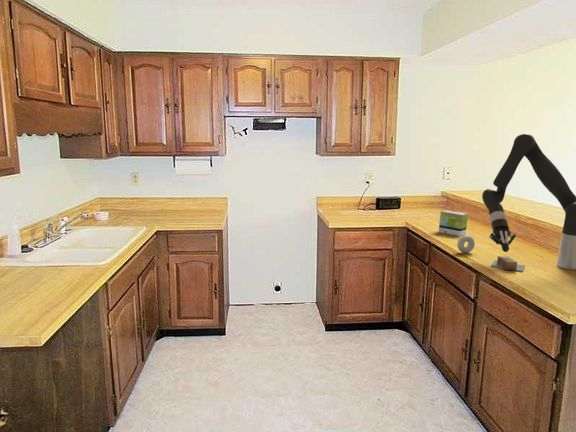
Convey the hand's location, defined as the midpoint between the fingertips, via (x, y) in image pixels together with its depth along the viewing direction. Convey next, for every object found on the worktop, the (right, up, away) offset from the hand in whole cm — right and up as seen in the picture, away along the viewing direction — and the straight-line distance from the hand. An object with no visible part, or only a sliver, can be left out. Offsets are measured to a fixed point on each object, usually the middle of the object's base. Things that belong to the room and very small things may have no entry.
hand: (506, 251), depth 214 cm
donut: (-10, -3, +26) cm, 28 cm away
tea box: (+2, +5, +76) cm, 76 cm away
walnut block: (0, -5, +4) cm, 6 cm away
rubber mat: (+2, -8, +2) cm, 8 cm away
